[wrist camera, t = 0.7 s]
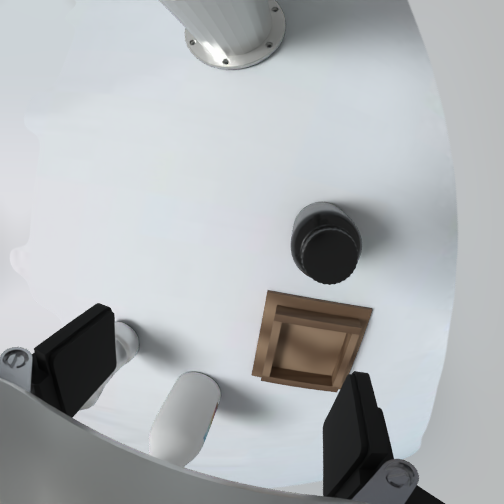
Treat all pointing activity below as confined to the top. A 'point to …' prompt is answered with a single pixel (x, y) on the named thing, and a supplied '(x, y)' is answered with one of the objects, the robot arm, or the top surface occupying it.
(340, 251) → the supplement bottle
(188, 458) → the milk bottle
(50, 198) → the top surface
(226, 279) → the top surface
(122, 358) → the plastic bottle
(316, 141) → the top surface
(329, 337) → the walnut stand
